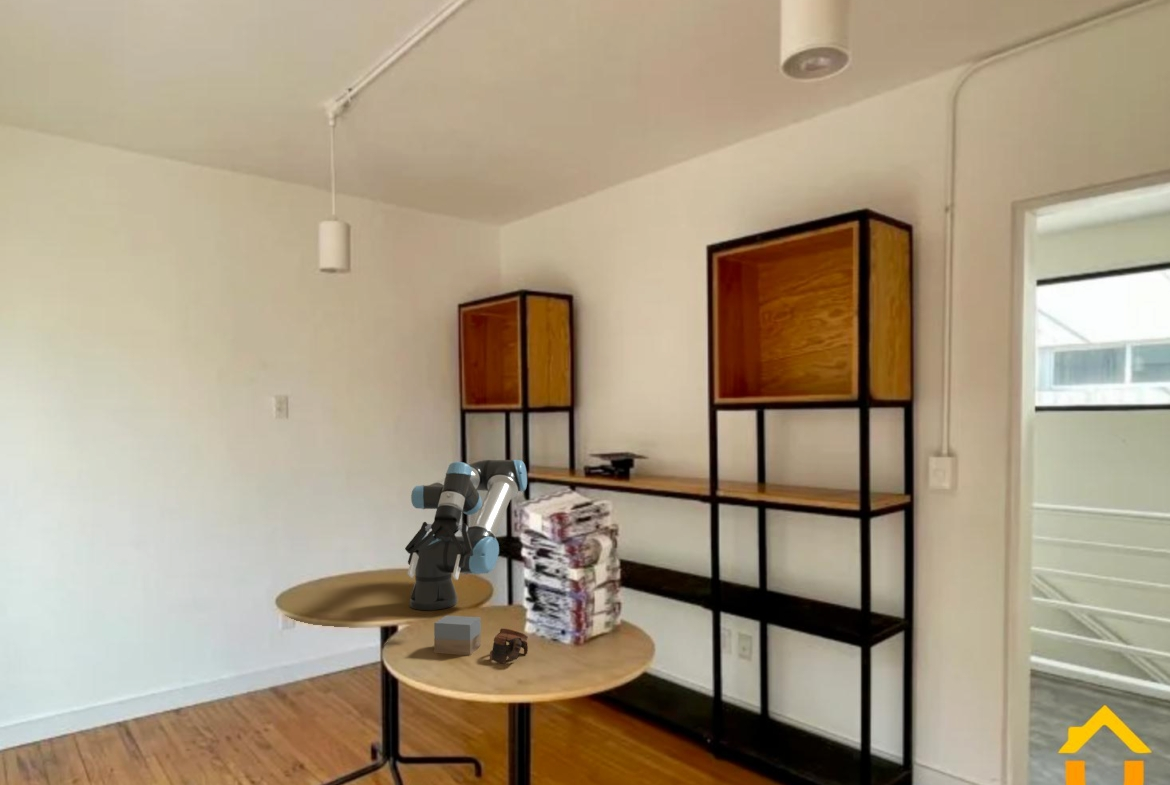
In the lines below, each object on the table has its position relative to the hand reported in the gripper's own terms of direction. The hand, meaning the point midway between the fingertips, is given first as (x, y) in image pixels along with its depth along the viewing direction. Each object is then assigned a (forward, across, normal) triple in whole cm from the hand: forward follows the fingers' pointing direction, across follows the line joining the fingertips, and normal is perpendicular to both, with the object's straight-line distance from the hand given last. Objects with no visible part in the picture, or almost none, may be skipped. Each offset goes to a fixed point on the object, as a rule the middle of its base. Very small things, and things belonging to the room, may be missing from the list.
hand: (432, 577), depth 195 cm
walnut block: (+20, +12, 0) cm, 23 cm away
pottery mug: (+22, +28, -4) cm, 36 cm away
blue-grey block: (+16, +12, -2) cm, 21 cm away
